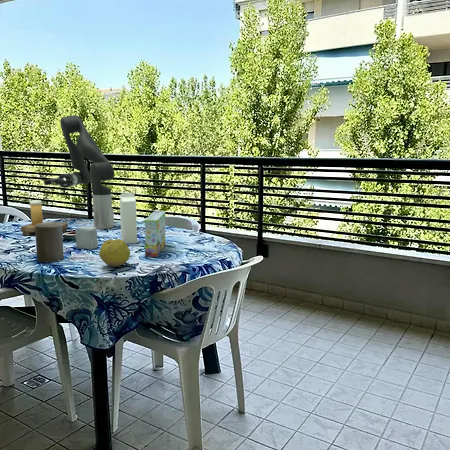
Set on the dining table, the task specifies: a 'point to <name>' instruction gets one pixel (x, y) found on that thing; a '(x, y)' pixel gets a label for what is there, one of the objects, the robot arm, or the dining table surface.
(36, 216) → the beer glass
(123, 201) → the milk
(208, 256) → the dining table surface
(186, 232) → the dining table surface
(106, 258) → the fruit
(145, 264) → the dining table surface
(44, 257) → the pillar candle
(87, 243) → the medicine box
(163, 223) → the snack box
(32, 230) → the walnut stand
